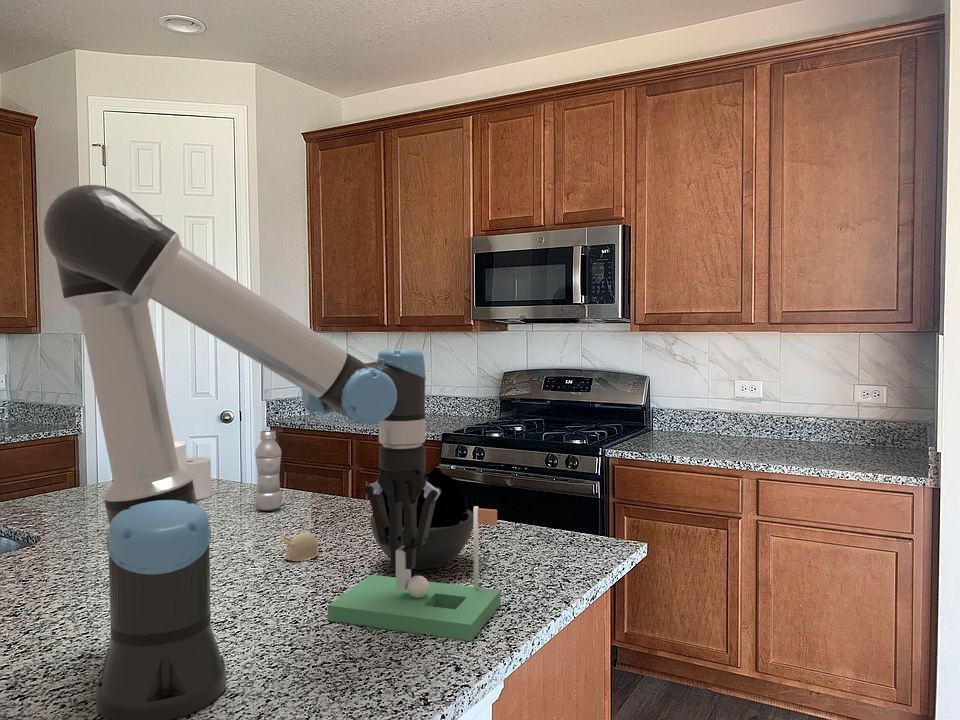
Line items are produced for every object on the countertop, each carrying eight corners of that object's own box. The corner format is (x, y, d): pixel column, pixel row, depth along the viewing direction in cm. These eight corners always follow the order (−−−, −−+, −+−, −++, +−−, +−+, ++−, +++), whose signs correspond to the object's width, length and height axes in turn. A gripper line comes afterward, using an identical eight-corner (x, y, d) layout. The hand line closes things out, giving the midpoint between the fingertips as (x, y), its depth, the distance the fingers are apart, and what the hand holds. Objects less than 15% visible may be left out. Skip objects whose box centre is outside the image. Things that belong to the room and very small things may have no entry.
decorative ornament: (323, 558, 148) (323, 531, 148) (283, 566, 143) (283, 539, 143) (315, 553, 152) (314, 527, 151) (275, 560, 147) (275, 534, 146)
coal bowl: (493, 560, 146) (493, 466, 145) (436, 592, 129) (436, 485, 128) (411, 545, 157) (410, 457, 156) (348, 572, 139) (348, 474, 138)
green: (471, 641, 109) (471, 531, 108) (327, 620, 117) (326, 517, 116) (500, 604, 123) (500, 507, 122) (371, 588, 131) (370, 496, 130)
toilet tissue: (203, 490, 208) (202, 455, 208) (218, 498, 199) (218, 461, 198) (164, 496, 201) (163, 460, 201) (178, 504, 192) (177, 466, 192)
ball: (415, 575, 118) (399, 587, 119) (428, 594, 117) (412, 605, 118) (423, 568, 121) (408, 579, 122) (436, 586, 121) (420, 597, 122)
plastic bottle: (250, 512, 184) (248, 432, 183) (265, 505, 191) (264, 429, 190) (272, 514, 182) (271, 433, 181) (287, 507, 189) (286, 430, 188)
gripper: (448, 442, 121) (448, 584, 122) (376, 439, 125) (377, 576, 126) (431, 450, 114) (432, 600, 115) (355, 446, 118) (357, 591, 119)
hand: (403, 587), depth 121 cm, fingers closed
